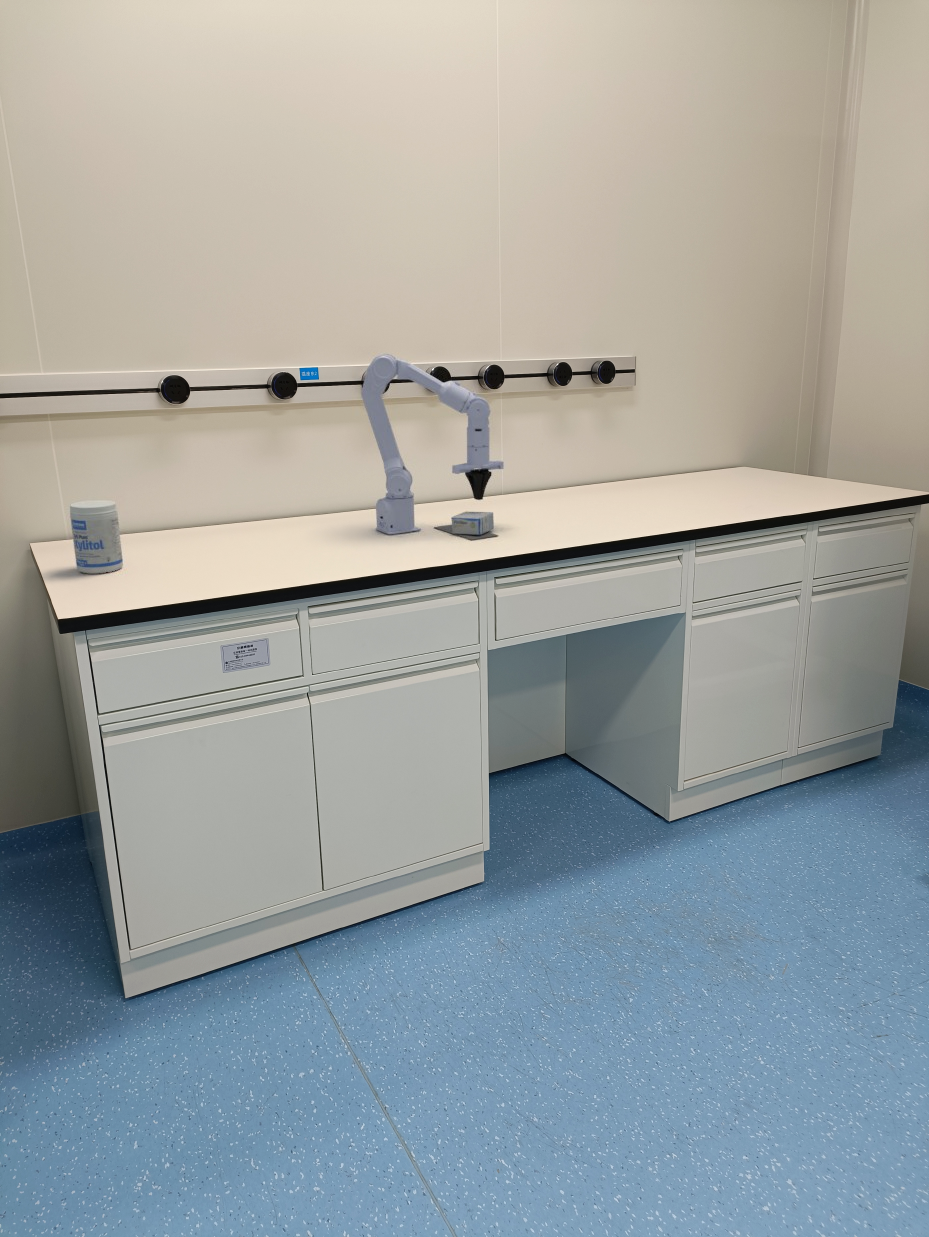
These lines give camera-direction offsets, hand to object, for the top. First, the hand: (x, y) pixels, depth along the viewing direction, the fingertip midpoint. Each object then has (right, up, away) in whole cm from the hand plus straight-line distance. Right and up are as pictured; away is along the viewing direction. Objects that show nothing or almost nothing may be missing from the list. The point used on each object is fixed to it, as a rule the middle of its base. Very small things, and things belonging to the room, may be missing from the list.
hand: (478, 499), depth 231 cm
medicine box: (+1, -5, +1) cm, 5 cm away
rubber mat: (-3, -9, -1) cm, 9 cm away
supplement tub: (-84, -20, -33) cm, 92 cm away
